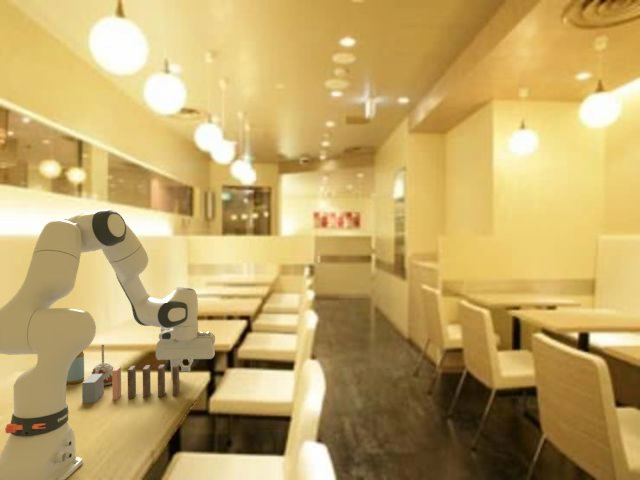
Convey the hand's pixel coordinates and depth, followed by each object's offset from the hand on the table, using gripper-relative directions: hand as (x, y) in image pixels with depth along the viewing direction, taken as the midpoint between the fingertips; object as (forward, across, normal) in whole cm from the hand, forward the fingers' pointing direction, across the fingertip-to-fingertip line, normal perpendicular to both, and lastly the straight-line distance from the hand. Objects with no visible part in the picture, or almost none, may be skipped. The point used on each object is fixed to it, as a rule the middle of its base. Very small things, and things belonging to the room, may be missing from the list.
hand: (185, 371), depth 171 cm
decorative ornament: (+8, +34, -14) cm, 37 cm away
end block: (+8, +31, +2) cm, 32 cm away
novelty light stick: (+8, +8, -18) cm, 21 cm away
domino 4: (+8, +8, 0) cm, 12 cm away
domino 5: (+8, +3, 0) cm, 9 cm away
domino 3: (+8, +13, +1) cm, 16 cm away
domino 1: (+8, +23, +2) cm, 25 cm away
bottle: (+8, +46, -18) cm, 50 cm away
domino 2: (+8, +18, +1) cm, 20 cm away
